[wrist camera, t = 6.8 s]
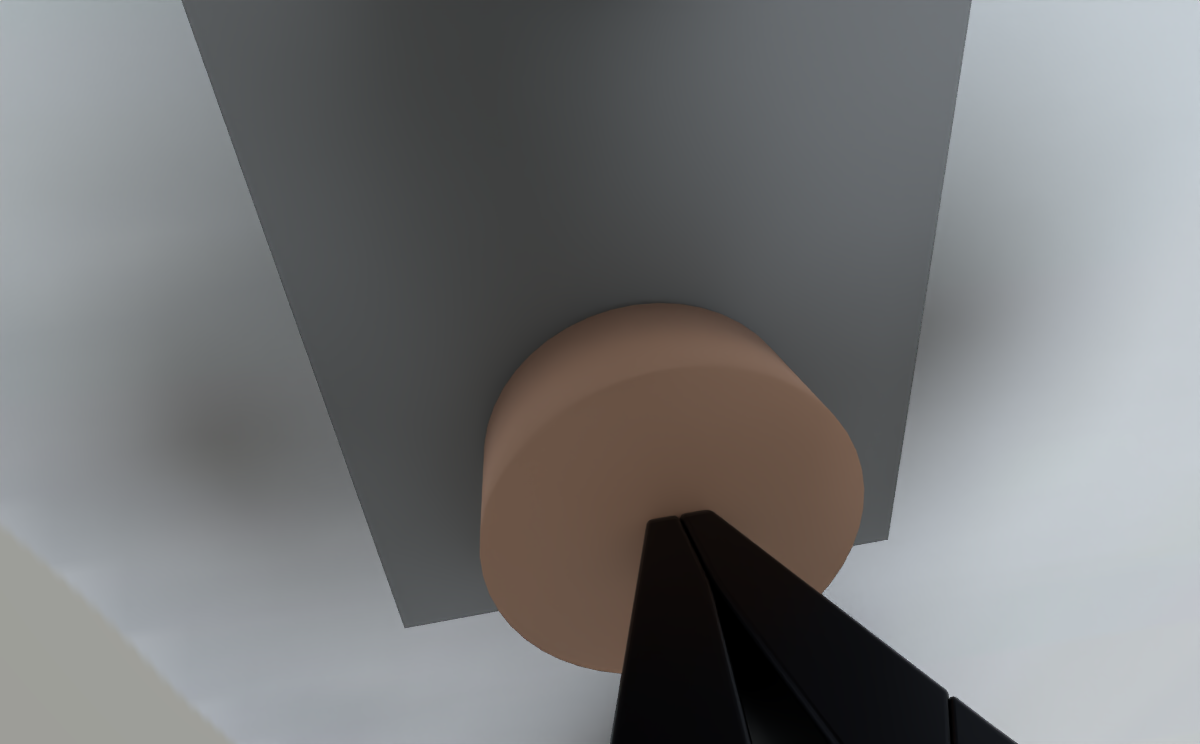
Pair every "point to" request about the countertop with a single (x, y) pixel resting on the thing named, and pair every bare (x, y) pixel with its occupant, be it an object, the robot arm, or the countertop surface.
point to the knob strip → (580, 212)
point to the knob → (651, 468)
